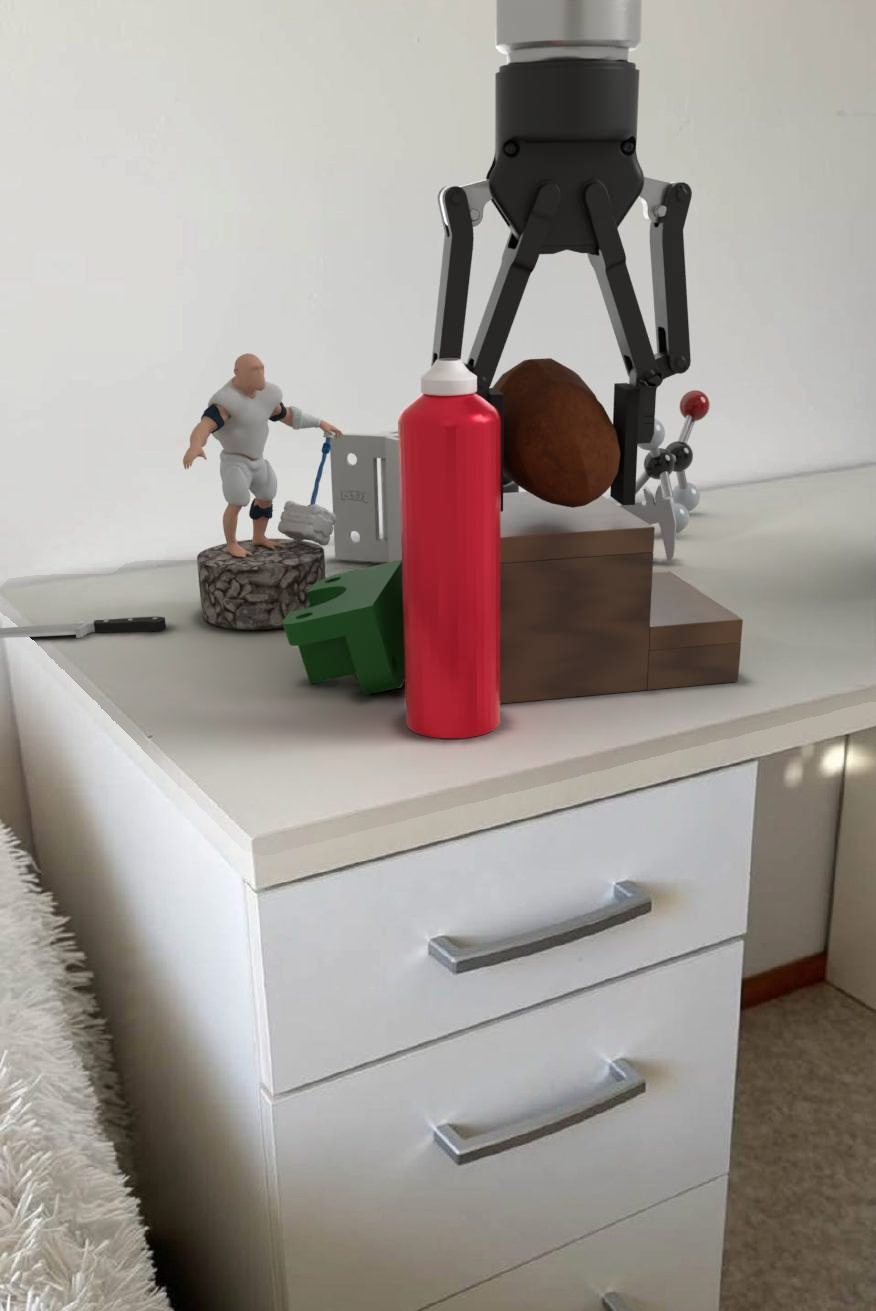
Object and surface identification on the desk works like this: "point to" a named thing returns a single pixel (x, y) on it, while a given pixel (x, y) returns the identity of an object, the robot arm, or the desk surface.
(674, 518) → the caliper
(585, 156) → the robot arm
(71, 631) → the knife
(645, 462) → the molecular model
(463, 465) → the bottle
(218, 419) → the figurine
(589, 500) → the potato
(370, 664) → the clamp
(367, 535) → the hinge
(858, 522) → the desk surface
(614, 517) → the step shelf
